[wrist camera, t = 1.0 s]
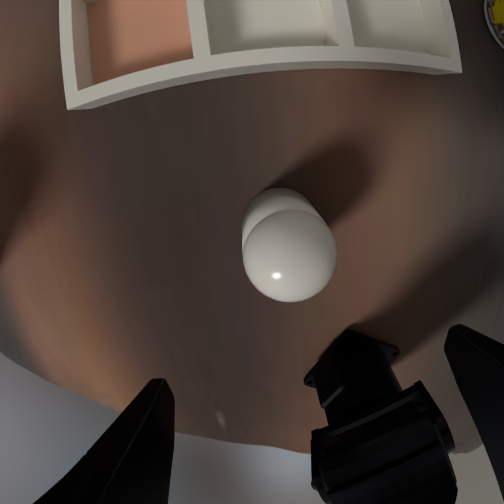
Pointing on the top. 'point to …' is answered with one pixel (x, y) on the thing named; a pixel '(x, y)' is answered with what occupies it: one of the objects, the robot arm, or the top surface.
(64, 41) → the white compartment tray
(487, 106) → the top surface
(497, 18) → the supplement bottle
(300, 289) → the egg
